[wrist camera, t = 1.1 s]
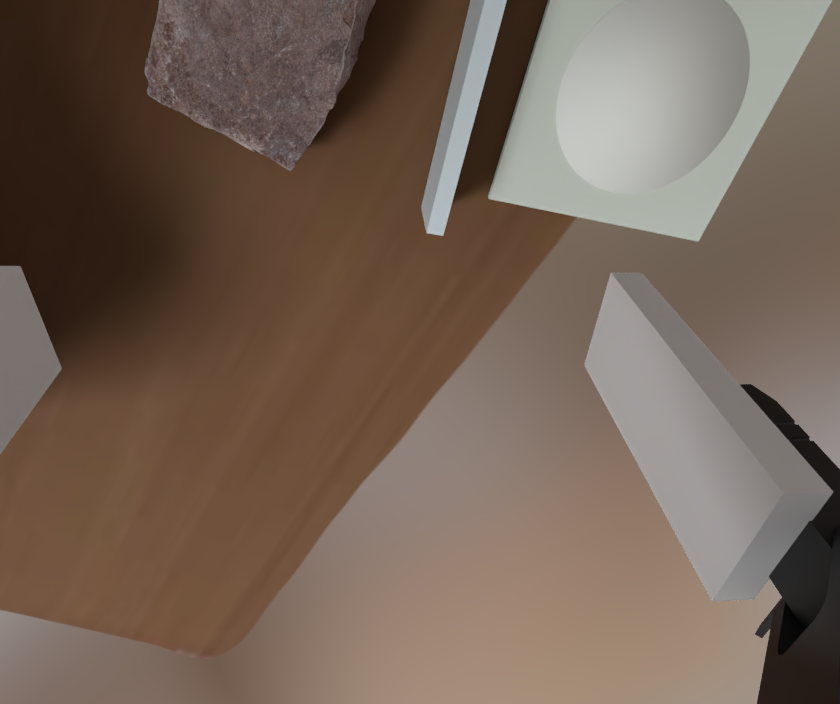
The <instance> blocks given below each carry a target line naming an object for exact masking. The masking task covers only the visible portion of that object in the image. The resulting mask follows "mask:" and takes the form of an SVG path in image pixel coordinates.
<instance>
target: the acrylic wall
mask: <svg viewBox="0 0 840 704" xmlns="http://www.w3.org/2000/svg"><path fill="white" fill-rule="evenodd" d="M506 2H507V0H470V4H469V8H468V13H467V17H466V21H465V25H464V29H463V33H462V38H461V42H460V46H459V50H458V54H457V59H456V63H455V67H454V71H453V75H452V80H451V84H450V88H449V92H448V96H447V101H446V105H445V109H444V113H443V117H442V122H441V126H440V130H439V134H438V138H437V142H436V147H435V151H434V155H433V159H432V163H431V168H430V172H429V176H428V180H427V184H426V189H425V193H424V197H423V201H422V205H421V209H422V214H423V219H424V224H425V229H426V233H430V234H435V235H440V236H443V235H444V231H445V227H446V223H447V220H448V216H449V212H450V209H451V205H452V201H453V198H454V194H455V190H456V187H457V183H458V179H459V175H460V172H461V168H462V164H463V161H464V157H465V153H466V150H467V146H468V142H469V138H470V135H471V131H472V127H473V124H474V120H475V116H476V113H477V109H478V105H479V101H480V98H481V94H482V90H483V87H484V83H485V79H486V76H487V72H488V68H489V65H490V61H491V57H492V53H493V50H494V46H495V42H496V39H497V35H498V31H499V28H500V24H501V20H502V16H503V13H504V9H505V5H506Z"/></svg>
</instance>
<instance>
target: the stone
mask: <svg viewBox="0 0 840 704" xmlns="http://www.w3.org/2000/svg"><path fill="white" fill-rule="evenodd" d="M375 2H376V0H159V6H158V13H157V19H156V23H155V27H154V30H153V34H152V38H151V46H150V50H149V54H148V57H147V58H146V61H145V75H146V77H147V80H148V82H149V86H148V88H147V94H148V95H149V96H150V97H152V98H153V99H155V100H156V101H158V102H159V103H161V104H163V105H165V106H167V107H170V108H172V109H174V110H176V111H178V112H180V113H183V114H185V115H187V116H188V117H190V118H191V119H192V120H193V121H195V122H197V123H198V124H200V125H202V126H204V127H206V128H209V129H213V130H216V131H218V132H220V133H222V134H224V135H226V136H227V137H229V138H231V139H232V140H234V141H236V142H237V143H239V144H241V145H242V146H244V147H246V148H247V149H249V150H251V151H253V152H255V153H260V154H263V155H265V156H267V157H269V158H270V159H272V160H273V161H275V162H276V163H278V164H279V165H281V166H283V167H284V168H286V169H288V170H289V171H292V170H293V169H294V167H295V164H296V162H297V161H298V160H299V159H300V157H301V156H302V154H303V152H304V151H305V150H306V149H307V148H308V146H309V145H310V144H311V142H312V141H313V139H314V137H315V135H316V134H317V132H318V131H319V130H320V128H321V127H322V126H323V124H324V122H325V120H326V116H327V114H328V112H329V110H330V109H332V108H333V107H334V105H335V103H336V100H337V96H338V93H339V92H340V91H341V89H342V88H343V87H344V85H345V84H346V82H347V80H348V79H349V77H350V74H351V71H352V69H353V66H354V64H355V63H356V61H357V55H358V49H359V46H360V44H361V42H362V41H363V38H364V29H365V26H366V24H367V19H368V16H369V14H370V12H371V10H372V8H373V6H374V4H375Z"/></svg>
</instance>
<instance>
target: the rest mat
mask: <svg viewBox="0 0 840 704" xmlns="http://www.w3.org/2000/svg"><path fill="white" fill-rule="evenodd" d="M831 2H832V0H548V2H547V5H546V9H545V12H544V15H543V18H542V22H541V25H540V28H539V31H538V35H537V38H536V41H535V44H534V48H533V51H532V54H531V58H530V61H529V64H528V67H527V71H526V74H525V77H524V80H523V84H522V87H521V90H520V93H519V97H518V100H517V103H516V106H515V110H514V113H513V116H512V120H511V123H510V126H509V129H508V133H507V136H506V139H505V142H504V146H503V149H502V152H501V155H500V159H499V162H498V165H497V168H496V172H495V175H494V178H493V181H492V185H491V188H490V191H489V195H488V198H489V199H492V200H497V201H502V202H507V203H512V204H516V205H521V206H526V207H531V208H536V209H541V210H546V211H551V212H556V213H561V214H566V215H570V216H575V217H580V218H585V219H590V220H595V221H600V222H605V223H610V224H615V225H620V226H625V227H629V228H634V229H639V230H645V231H649V232H654V233H659V234H664V235H669V236H674V237H679V238H683V239H689V240H693V241H699V240H700V238H701V236H702V234H703V232H704V231H705V229H706V227H707V225H708V223H709V222H710V219H711V218H712V216H713V214H714V213H715V211H716V209H717V207H718V205H719V204H720V202H721V200H722V198H723V197H724V195H725V193H726V191H727V189H728V188H729V186H730V184H731V182H732V180H733V179H734V177H735V175H736V173H737V171H738V170H739V168H740V166H741V164H742V162H743V160H744V159H745V157H746V155H747V153H748V152H749V150H750V148H751V146H752V144H753V143H754V141H755V139H756V137H757V135H758V134H759V132H760V130H761V128H762V126H763V125H764V123H765V121H766V119H767V117H768V116H769V114H770V112H771V110H772V108H773V107H774V105H775V103H776V101H777V99H778V97H779V96H780V94H781V92H782V90H783V88H784V87H785V85H786V83H787V81H788V80H789V78H790V76H791V74H792V72H793V71H794V69H795V67H796V65H797V63H798V62H799V60H800V58H801V56H802V54H803V52H804V51H805V49H806V47H807V45H808V44H809V42H810V40H811V38H812V36H813V34H814V33H815V31H816V29H817V27H818V26H819V24H820V22H821V20H822V18H823V17H824V15H825V13H826V11H827V9H828V7H829V6H830V4H831Z"/></svg>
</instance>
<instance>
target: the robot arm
mask: <svg viewBox="0 0 840 704" xmlns="http://www.w3.org/2000/svg"><path fill="white" fill-rule="evenodd" d="M584 366H585V367H586V369H587V371H588V373H589V375H590V376H591V378H592V380H593V382H594V384H595V386H596V387H597V390H598V391H599V393H600V395H601V397H602V399H603V401H604V403H605V404H606V406H607V408H608V410H609V412H610V414H611V416H612V417H613V419H614V421H615V423H616V425H617V427H618V428H619V430H620V432H621V434H622V436H623V438H624V440H625V441H626V443H627V445H628V447H629V449H630V451H631V453H632V454H633V456H634V458H635V460H636V461H637V464H638V465H639V467H640V469H641V471H642V473H643V475H644V477H645V478H646V480H647V482H648V484H649V486H650V488H651V489H652V491H653V493H654V495H655V497H656V499H657V501H658V502H659V504H660V506H661V508H662V510H663V512H664V514H665V515H666V517H667V519H668V521H669V523H670V525H671V526H672V528H673V530H674V532H675V534H676V536H677V537H678V539H679V541H680V543H681V545H682V547H683V549H684V551H685V552H686V554H687V556H688V558H689V560H690V562H691V564H692V565H693V567H694V569H695V571H696V573H697V575H698V576H699V578H700V580H701V582H702V584H703V586H704V587H705V589H706V591H707V593H708V595H709V597H710V599H711V601H730V600H748V599H755V597H756V596H757V595H758V593H759V592H760V591H761V589H762V588H763V587H764V585H765V584H766V582H767V581H768V580H769V578H770V579H771V580H772V582H773V583H774V585H775V587H776V588H777V590H778V591H779V593H780V594H781V596H782V598H781V599H780V601H779V602H778V603H777V604H776V606H775V607H774V608H773V610H772V611H771V612H770V613H769V615H768V616H767V617H766V618H765V620H764V621H763V622H762V623H761V625H760V626H759V628H758V630H757V632H756V633H755V634H756V635H757V636H759V637H761V638H763V636H764V635H765V634H766V632H767V631H768V630H769V629H771V630H770V635H769V641H768V646H767V652H766V657H765V662H764V668H763V673H762V679H761V685H760V691H759V695H758V701H757V704H840V469H839V468H838V467H837V466H836V465H835V464H834V463H833V462H832V461H831V460H830V459H829V458H828V457H827V455H826V454H825V453H824V452H823V451H822V450H821V449H820V448H819V447H818V446H817V444H815V442H814V441H810V440H809V436H808V435H807V434H806V433H805V432H804V431H803V429H802V428H801V427H800V426H799V425H795V424H794V420H793V419H792V418H791V416H790V415H789V414H788V413H787V412H786V411H785V410H784V409H783V408H782V407H781V406H780V405H779V404H778V402H777V401H775V400H774V399H772V398H771V397H769V396H768V395H766V394H765V393H763V392H762V391H760V390H759V389H757V388H756V387H754V386H753V385H751V384H748V385H747V384H745V385H739V383H738V382H737V381H736V380H735V379H734V378H733V377H732V375H731V374H730V373H729V372H728V371H727V370H726V369H725V367H724V366H723V365H722V364H721V363H720V362H719V361H718V360H717V358H716V357H715V356H714V355H713V354H712V353H711V351H710V350H709V349H708V348H707V347H706V346H705V345H704V344H703V342H702V341H701V340H700V339H699V338H698V337H697V336H696V334H695V333H694V332H693V331H692V330H691V329H690V328H689V327H688V325H687V324H686V323H685V322H684V321H683V320H682V318H681V317H680V316H679V315H678V314H677V313H676V312H675V310H674V309H673V308H672V307H671V306H670V305H669V304H668V303H667V301H666V300H665V299H664V298H663V297H662V296H661V294H660V293H659V292H658V291H657V290H656V289H655V288H654V286H652V284H651V283H650V282H649V281H648V280H647V278H646V277H645V276H644V275H643V274H642V273H611V274H610V278H609V281H608V284H607V288H606V291H605V295H604V298H603V302H602V305H601V309H600V313H599V316H598V319H597V323H596V326H595V330H594V333H593V337H592V340H591V344H590V347H589V351H588V354H587V358H586V361H585V364H584ZM61 369H62V368H61V365H60V363H59V360H58V358H57V355H56V353H55V350H54V348H53V345H52V343H51V340H50V338H49V335H48V333H47V330H46V328H45V325H44V323H43V321H42V318H41V316H40V313H39V311H38V308H37V306H36V303H35V301H34V298H33V296H32V293H31V291H30V288H29V286H28V283H27V281H26V278H25V276H24V274H23V271H22V269H21V266H0V454H1V452H2V451H3V450H4V448H5V447H6V446H7V444H8V443H9V441H10V440H11V439H12V437H13V436H14V434H15V433H16V432H17V430H18V429H19V428H20V426H21V425H22V423H23V422H24V421H25V419H26V418H27V416H28V415H29V414H30V412H31V411H32V410H33V408H34V407H35V405H36V404H37V403H38V401H39V400H40V398H41V397H42V396H43V394H44V393H45V392H46V390H47V389H48V387H49V386H50V385H51V383H52V382H53V380H54V379H55V378H56V376H57V375H58V374H59V372H60V371H61Z"/></svg>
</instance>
